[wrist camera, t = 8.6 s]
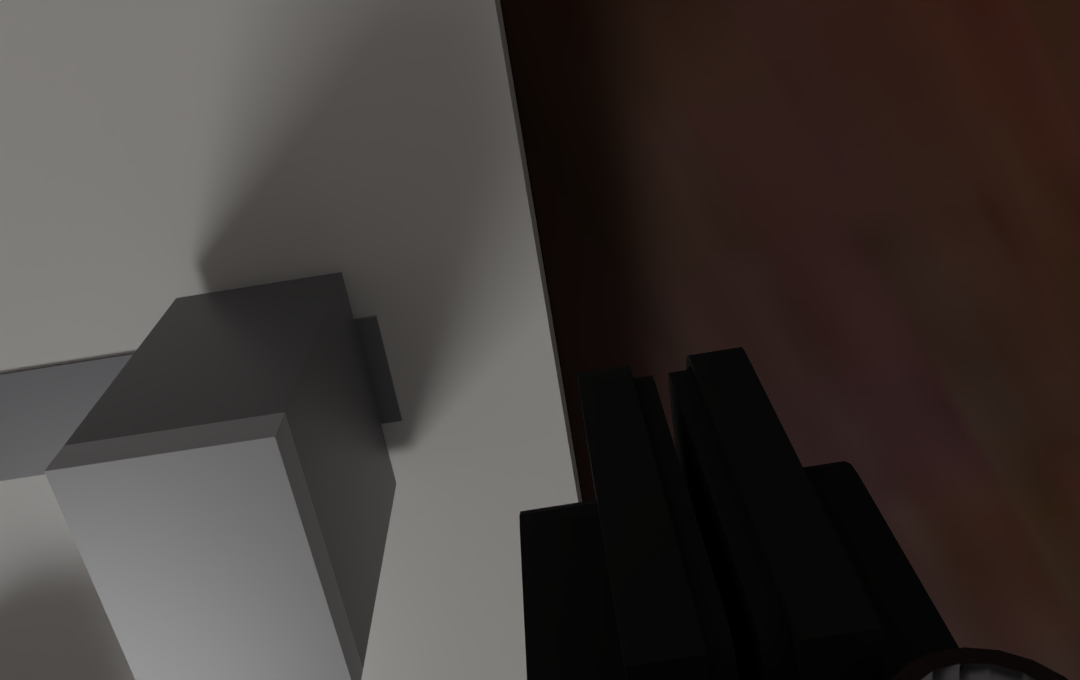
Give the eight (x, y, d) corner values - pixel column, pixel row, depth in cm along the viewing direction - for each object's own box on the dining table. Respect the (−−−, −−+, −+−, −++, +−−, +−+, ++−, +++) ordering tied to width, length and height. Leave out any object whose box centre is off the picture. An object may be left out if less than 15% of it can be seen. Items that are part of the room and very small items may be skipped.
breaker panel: (398, -616, 12) (374, -724, 10) (626, 769, 23) (639, 871, 20) (-821, -381, 13) (-1107, -433, 11) (-59, 862, 23) (-122, 971, 21)
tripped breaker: (341, 271, 14) (274, 436, 10) (396, 483, 16) (358, 700, 12) (176, 298, 14) (43, 471, 10) (246, 505, 16) (156, 727, 12)
